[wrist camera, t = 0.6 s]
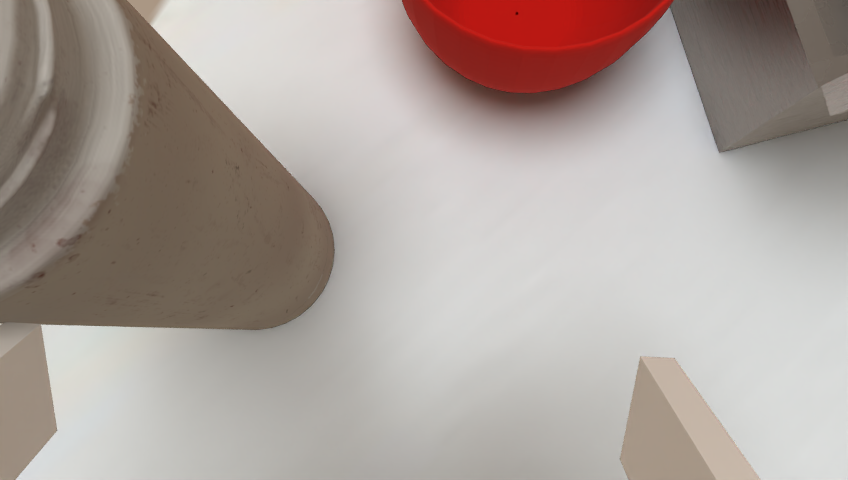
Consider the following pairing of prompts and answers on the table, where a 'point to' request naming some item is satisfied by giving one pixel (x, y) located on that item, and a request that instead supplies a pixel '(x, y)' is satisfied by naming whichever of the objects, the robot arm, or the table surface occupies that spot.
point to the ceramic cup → (532, 37)
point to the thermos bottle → (138, 185)
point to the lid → (836, 95)
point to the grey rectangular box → (763, 63)
